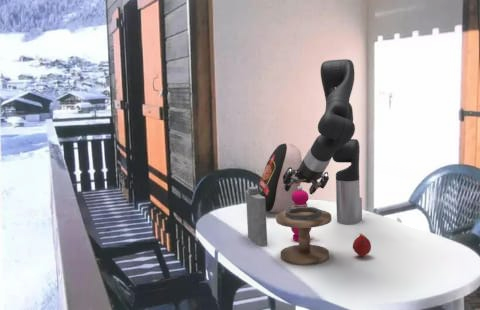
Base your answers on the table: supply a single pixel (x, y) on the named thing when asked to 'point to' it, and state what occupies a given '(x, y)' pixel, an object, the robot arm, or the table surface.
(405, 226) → the table surface
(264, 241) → the hip flask
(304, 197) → the pepper mill
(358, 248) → the onion
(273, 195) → the packaged food
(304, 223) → the ring stand
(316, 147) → the robot arm
